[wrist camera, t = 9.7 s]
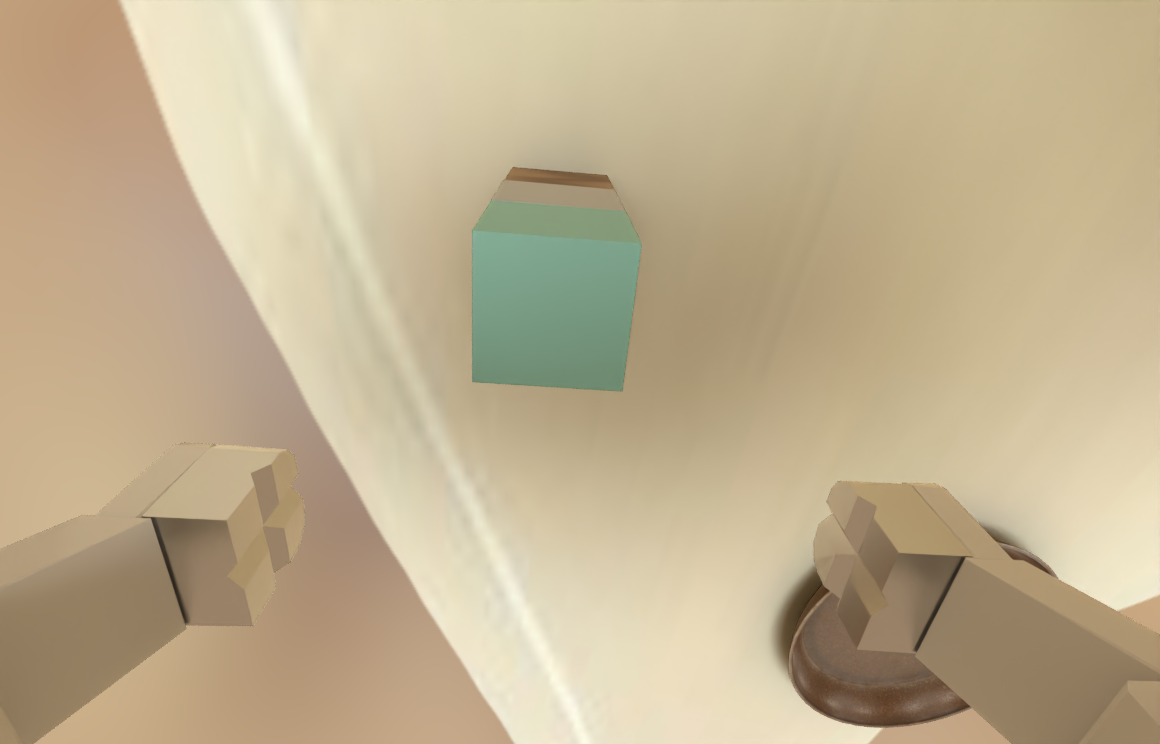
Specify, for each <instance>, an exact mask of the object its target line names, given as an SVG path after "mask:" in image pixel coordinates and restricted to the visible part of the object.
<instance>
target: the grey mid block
mask: <svg viewBox="0 0 1160 744" xmlns="http://www.w3.org/2000/svg"><path fill="white" fill-rule="evenodd" d="M492 200H495V201H507V202H520V203H532V204H545V205H557V206H569V207H582V208H594V209H606V210H619V211H625V210H624V208H623V206H622V204H621V202H620V200H619V198H618V196H617V194H616V192H615V190H613V189H602V188H591V187H579V186H568V185H557V184H546V183H534V182H523V181H512V180H503V182H502V184H501V185H500V187H499V188H498V190H497V191H496V193H495V194H494V196H493V197H492V199H491V201H492Z"/></svg>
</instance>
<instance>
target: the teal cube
mask: <svg viewBox="0 0 1160 744" xmlns="http://www.w3.org/2000/svg"><path fill="white" fill-rule="evenodd" d="M641 246H642V243H641V241H640V239H639V237H638V235H637V233H636V231H635V229H634V227H633V225H632V223H631V221H630V219H629V217H628V215H627V213H626V211H619V210H606V209H594V208H582V207H569V206H557V205H545V204H532V203H520V202H507V201H495V200H492V201H491V202H490V204H489V205H488V207H487V208H486V210H485V212H484V213H483V215H482V216H481V218H480V219H479V221H478V223H477V224H476V226H475V227H474V229H473V230H472V382H479V383H495V384H511V385H528V386H544V387H560V388H576V389H592V390H608V391H622V390H623V382H624V375H625V367H626V360H627V352H628V345H629V337H630V330H631V322H632V314H633V307H634V299H635V292H636V284H637V277H638V269H639V262H640V254H641Z"/></svg>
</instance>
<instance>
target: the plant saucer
mask: <svg viewBox="0 0 1160 744" xmlns="http://www.w3.org/2000/svg"><path fill="white" fill-rule="evenodd" d="M996 542H997V543H998V544H999V546H1000V547H1001V548H1002V549H1003V550H1004V551H1005V552H1006V553H1007V554H1008V555H1009V556H1010V557H1011V558H1012V559H1013V560H1024V561H1026V562H1027V563H1029V564H1031V565H1033V566H1035V567H1037V568H1039V569H1040V570H1042V571H1044V572H1046V573H1048V574H1050V575H1051V576H1053V577H1055V578H1057V579H1058V577H1057V576H1056V574H1055V573H1054V572H1053V570H1052V569H1051V568H1050V567H1049V566H1048V565H1047V564H1046V563H1045V562H1043V561H1042V560H1041V559H1039V558H1038V557H1037V556H1035V555H1033V554H1031V553H1029V552H1028V551H1025V550H1023V549H1021V548H1018V547H1015V546H1012V545H1009V544H1006V543H1002V542H998V541H996ZM839 601H840V598H839V597H837V596H836V595H835V594H833V593H832V592H831V591H830V590H828V589H827V588H826V587H824V585H822V586H821V587H820V588H819V589H818V590H817V592H816V593H815V594H814V595H813V597H812V598H811V599H810V601H809V602H808V604H807V606H806V607H805V609H804V611H803V612H802V614H801V616H800V618H799V620H798V623H797V625H796V628H795V631H794V634H793V637H792V641H791V646H790V652H789V661H788V662H789V674H790V678H791V681H792V684H793V686H794V688H795V690H796V691H797V693H798V695H799V696H800V697H801V698H802V699H803V700H804V702H805V703H806V704H808V705H809V706H810V707H811V708H812V709H814V710H815V711H817V712H819V713H820V714H822V715H824V716H826V717H828V718H831V719H833V720H836V721H839V722H842V723H847V724H852V725H856V726H864V727H878V728H889V727H903V726H911V725H918V724H923V723H927V722H931V721H936V720H939V719H942V718H946V717H949V716H952V715H955V714H958V713H961V712H963V711H966V710H968V709H971V708H972V707H970V706H969V705H968V704H967V703H966V702H965V701H964V700H963V699H962V698H960V697H959V696H958V695H957V694H956V693H955V692H954V691H953V690H952V689H950V688H949V687H948V686H947V685H946V684H945V683H944V682H943V681H942V680H941V679H939V678H938V677H937V676H936V675H935V674H934V673H933V672H932V671H931V670H929V669H928V668H927V667H926V666H925V665H924V664H923V663H922V662H921V661H919V660H918V659H917V658H916V657H915V655H916V654H915V653H900V652H886V651H871V650H857V649H856V647H855V645H854V643H853V642H852V640H851V638H850V636H849V634H848V632H847V630H846V628H845V626H844V624H843V622H842V620H841V618H840V617H839V615H838V613H837V611H836V610H837V607H838V604H839Z"/></svg>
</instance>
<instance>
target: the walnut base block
mask: <svg viewBox="0 0 1160 744" xmlns="http://www.w3.org/2000/svg"><path fill="white" fill-rule="evenodd" d="M505 180H512V181H523V182H534V183H546V184H557V185H568V186H579V187H591V188H602V189H613V187H612V185H611V182H610V180H609V178H608V176H607V175H596V174H585V173H573V172H562V171H550V170H539V169H528V168H516V167H513V168H512V169H511V171H510V172H509V174H508V175H507V177H506V179H505ZM613 190H614V189H613Z"/></svg>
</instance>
